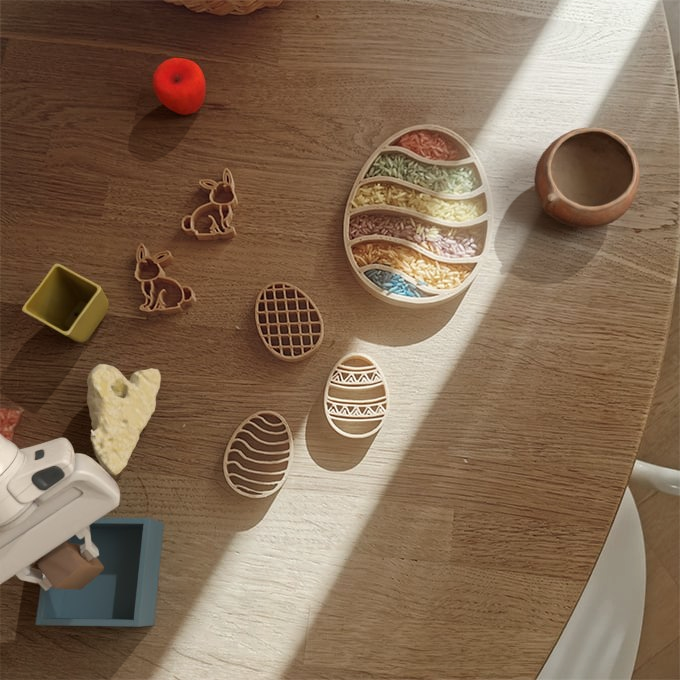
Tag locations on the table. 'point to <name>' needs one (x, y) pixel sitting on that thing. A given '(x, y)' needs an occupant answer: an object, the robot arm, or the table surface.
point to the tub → (112, 578)
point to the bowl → (587, 178)
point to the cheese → (119, 412)
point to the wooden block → (69, 567)
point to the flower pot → (68, 303)
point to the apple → (180, 85)
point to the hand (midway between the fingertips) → (73, 570)
